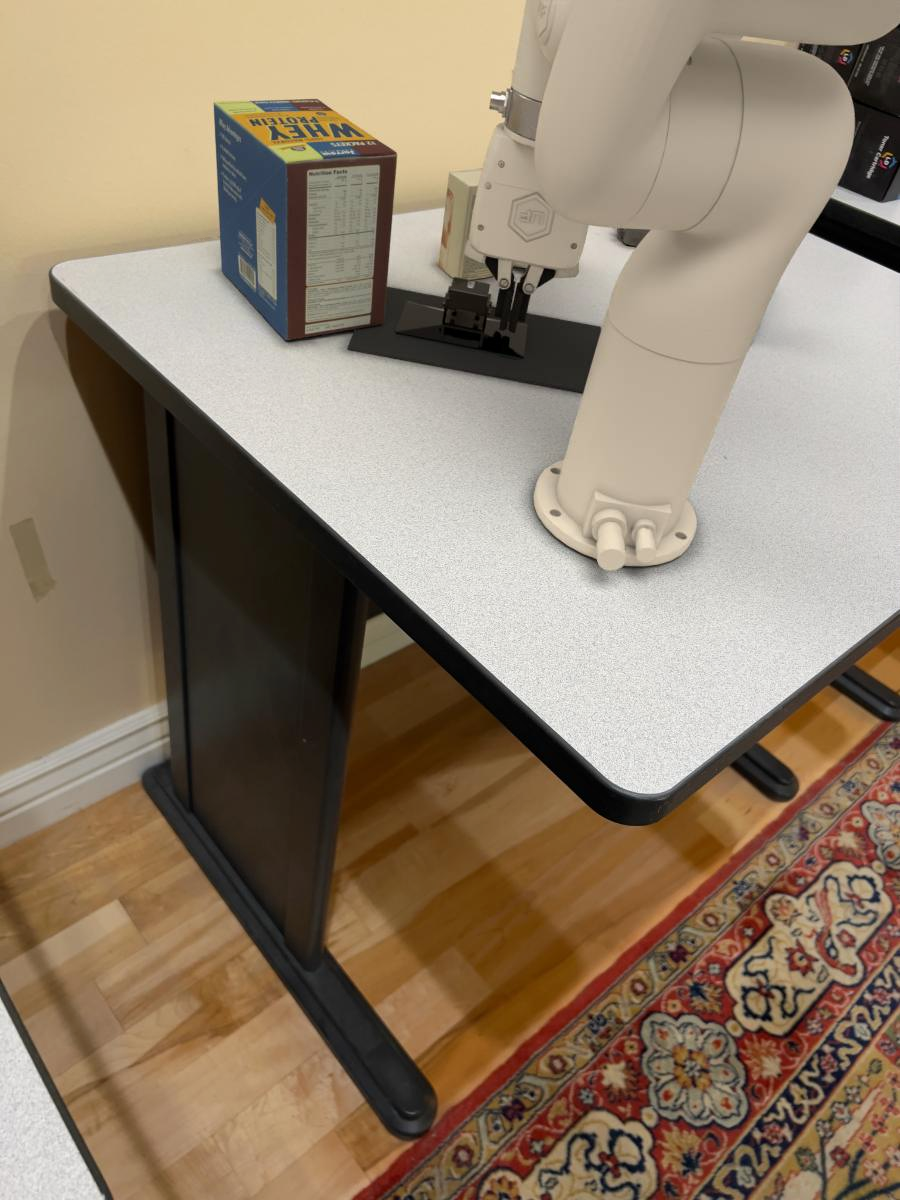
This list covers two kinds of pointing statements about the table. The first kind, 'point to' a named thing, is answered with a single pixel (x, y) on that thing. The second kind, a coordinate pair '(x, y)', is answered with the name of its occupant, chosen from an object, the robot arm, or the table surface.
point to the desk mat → (549, 359)
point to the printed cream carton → (460, 226)
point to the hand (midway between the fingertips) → (507, 325)
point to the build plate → (463, 322)
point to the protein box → (304, 214)
